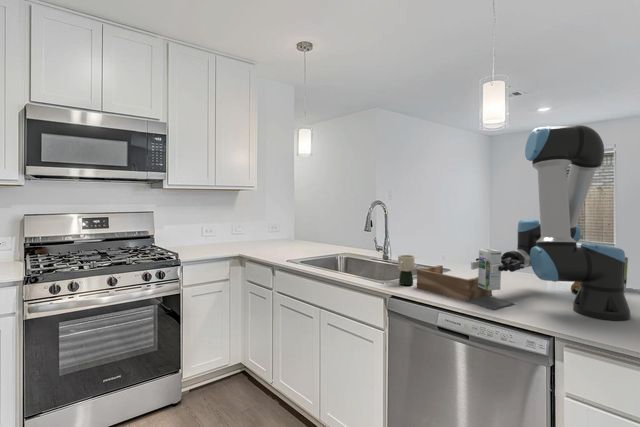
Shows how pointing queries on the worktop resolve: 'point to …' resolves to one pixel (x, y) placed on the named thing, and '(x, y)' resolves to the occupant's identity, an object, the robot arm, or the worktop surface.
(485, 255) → the syrup box
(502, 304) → the mat
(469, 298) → the wooden crate
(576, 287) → the bread roll
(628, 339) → the worktop surface
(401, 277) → the character mug
